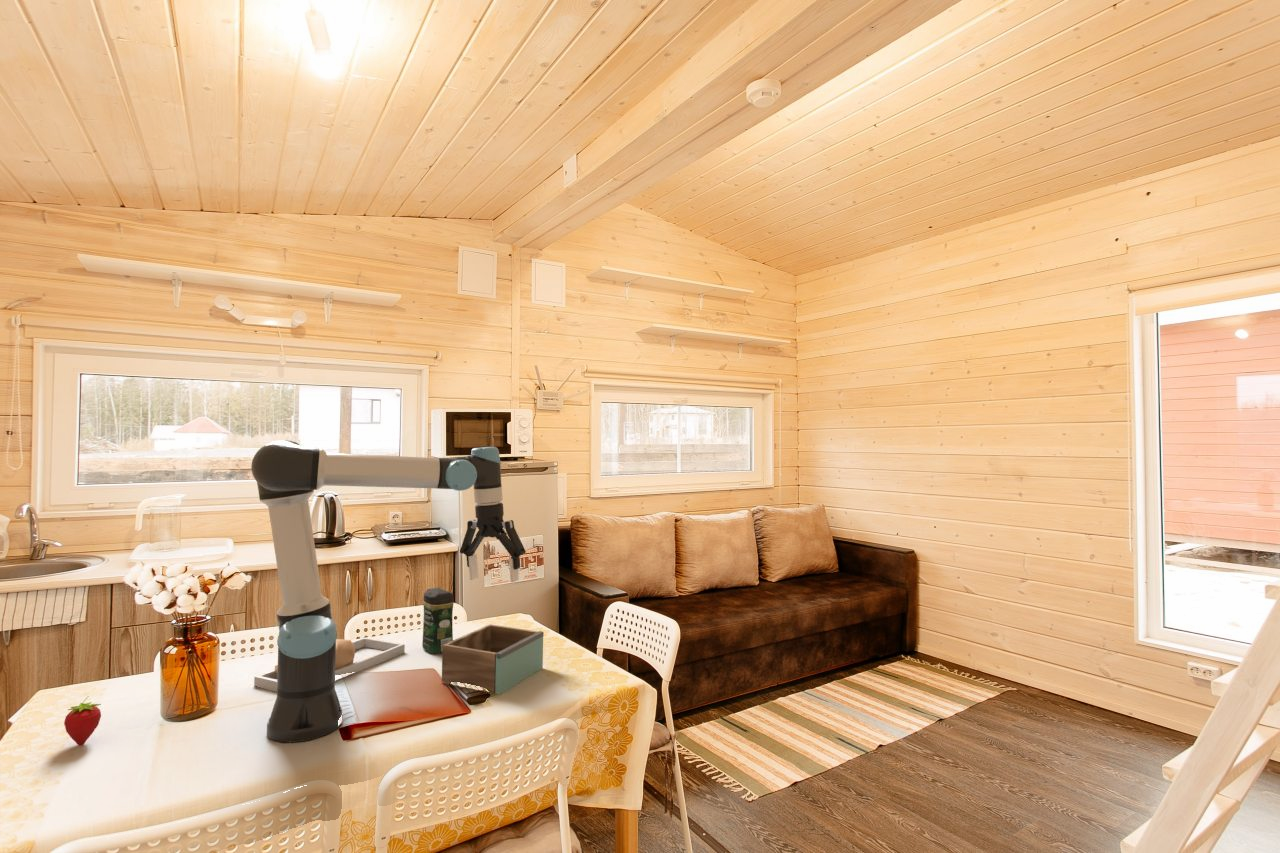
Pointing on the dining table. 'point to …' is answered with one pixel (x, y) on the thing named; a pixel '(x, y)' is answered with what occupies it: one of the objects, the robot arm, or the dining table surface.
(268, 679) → the serving tray
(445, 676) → the crate
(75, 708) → the decorative fruit
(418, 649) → the dining table surface
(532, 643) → the panel
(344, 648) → the squash
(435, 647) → the coffee jar
